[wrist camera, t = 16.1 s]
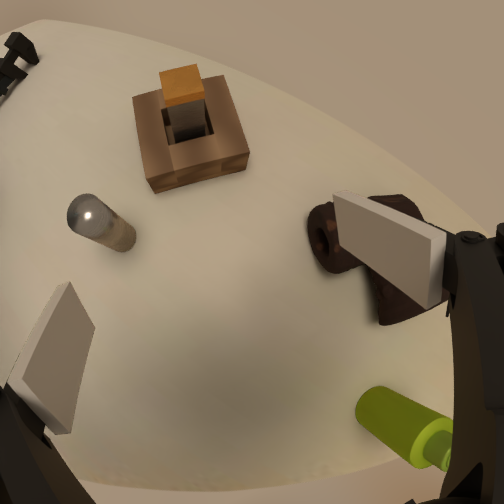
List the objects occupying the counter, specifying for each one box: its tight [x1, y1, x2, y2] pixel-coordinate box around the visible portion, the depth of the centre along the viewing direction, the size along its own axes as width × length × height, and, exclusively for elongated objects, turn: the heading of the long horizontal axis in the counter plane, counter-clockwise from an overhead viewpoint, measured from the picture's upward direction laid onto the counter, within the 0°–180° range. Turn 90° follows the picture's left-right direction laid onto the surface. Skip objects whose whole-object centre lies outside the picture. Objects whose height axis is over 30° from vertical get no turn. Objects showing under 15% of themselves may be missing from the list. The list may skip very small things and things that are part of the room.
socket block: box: [132, 75, 250, 194], centre depth 33 cm, size 11×11×5 cm
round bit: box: [67, 194, 136, 252], centre depth 28 cm, size 3×3×11 cm
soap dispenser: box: [356, 386, 453, 472], centre depth 24 cm, size 6×7×20 cm
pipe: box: [308, 194, 449, 326], centre depth 33 cm, size 10×15×15 cm
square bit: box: [159, 64, 206, 144], centre depth 29 cm, size 4×4×11 cm
